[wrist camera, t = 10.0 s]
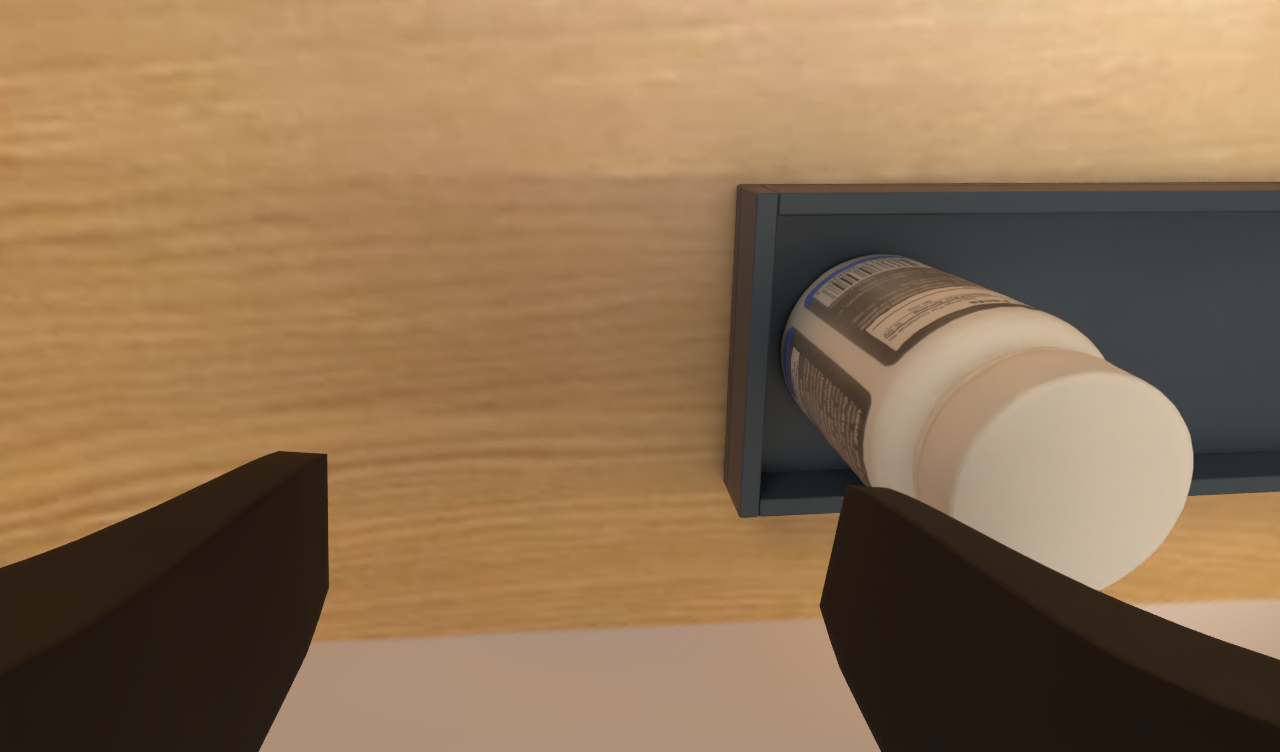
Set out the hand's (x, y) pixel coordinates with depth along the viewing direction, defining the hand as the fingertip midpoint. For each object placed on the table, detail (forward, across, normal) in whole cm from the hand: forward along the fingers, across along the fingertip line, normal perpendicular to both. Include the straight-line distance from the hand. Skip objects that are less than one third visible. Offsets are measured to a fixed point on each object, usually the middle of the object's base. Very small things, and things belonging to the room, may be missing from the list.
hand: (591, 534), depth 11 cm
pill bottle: (+9, -7, -1) cm, 12 cm away
